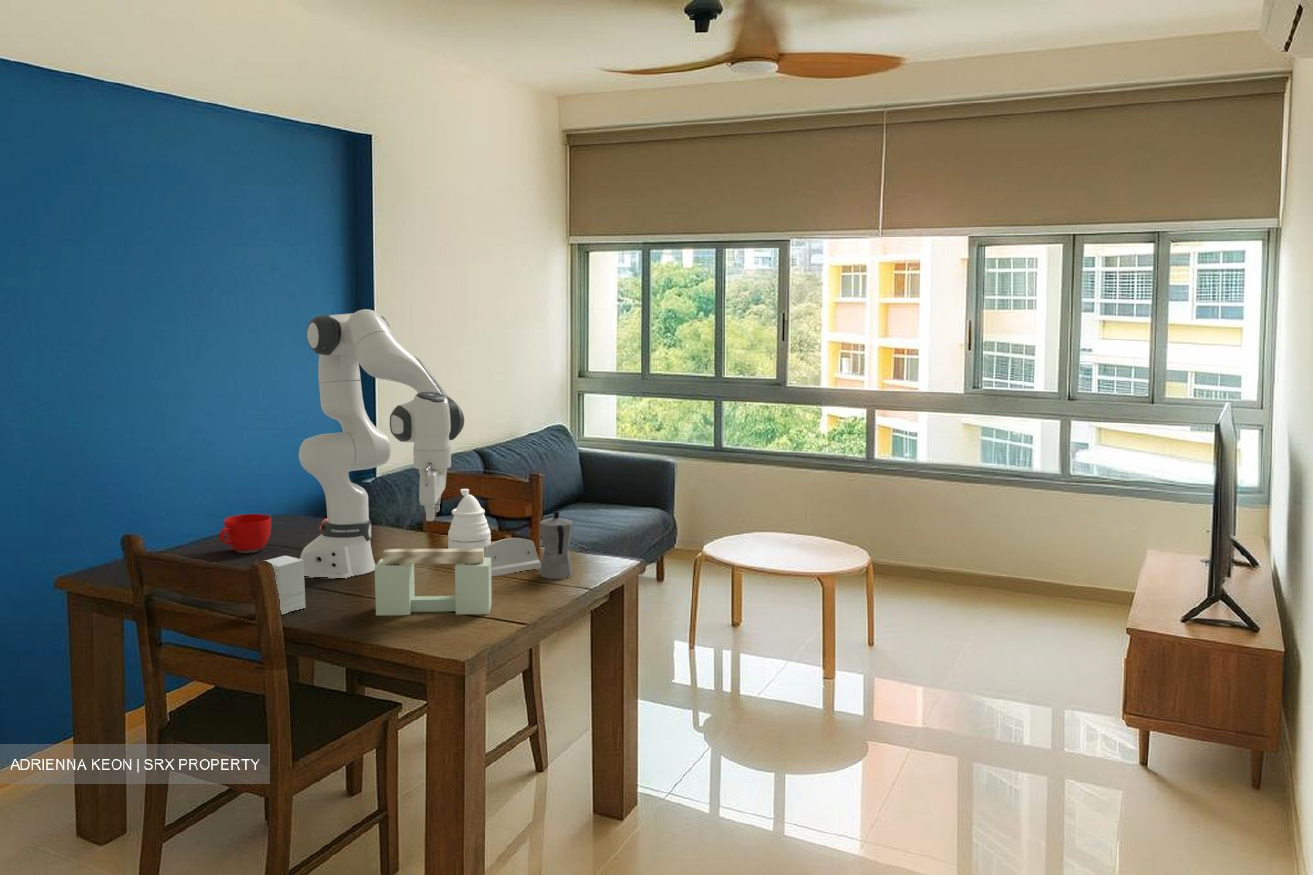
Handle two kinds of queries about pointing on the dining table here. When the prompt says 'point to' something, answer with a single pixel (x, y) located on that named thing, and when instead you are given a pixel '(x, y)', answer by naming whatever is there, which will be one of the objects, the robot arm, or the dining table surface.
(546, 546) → the coffeepot
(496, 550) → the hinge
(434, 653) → the dining table surface
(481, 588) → the posts
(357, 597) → the dining table surface
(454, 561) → the rail
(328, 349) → the robot arm
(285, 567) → the supplement box
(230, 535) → the ceramic cup
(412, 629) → the dining table surface
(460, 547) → the honey pot
